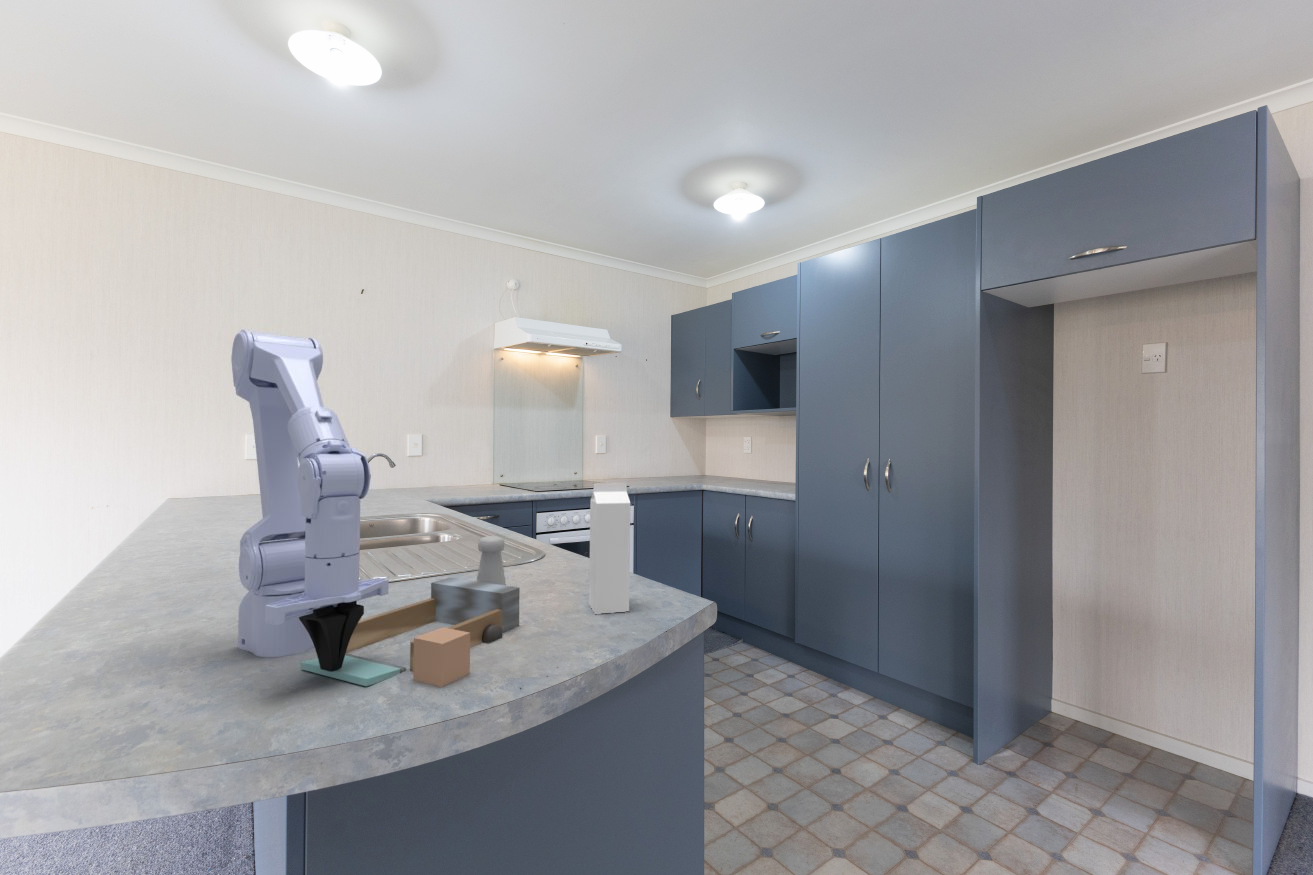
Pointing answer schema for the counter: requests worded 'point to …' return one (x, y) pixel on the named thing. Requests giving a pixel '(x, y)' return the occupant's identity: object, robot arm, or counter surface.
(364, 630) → the flatbed
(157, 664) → the counter surface
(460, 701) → the counter surface
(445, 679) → the tan rectangular block
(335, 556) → the robot arm
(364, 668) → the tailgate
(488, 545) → the salt shaker
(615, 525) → the milk
